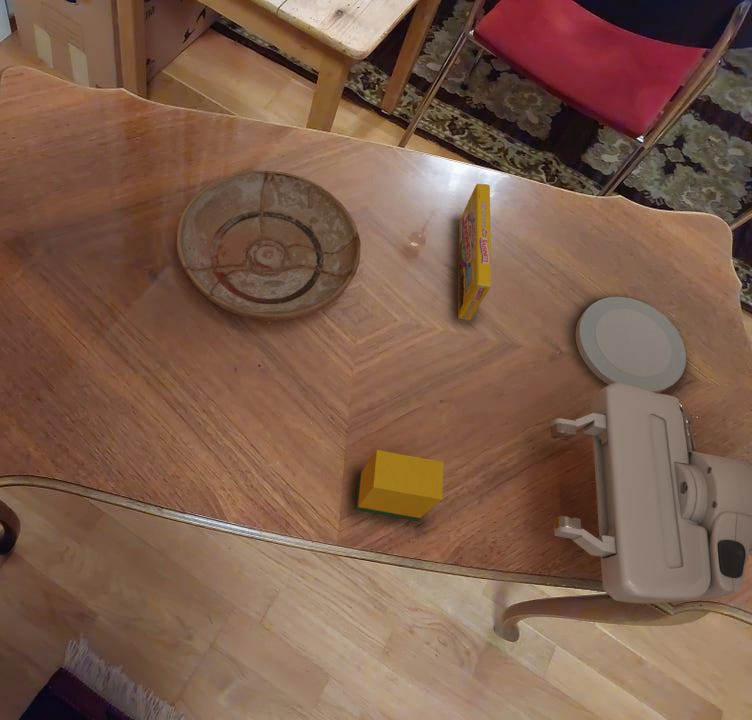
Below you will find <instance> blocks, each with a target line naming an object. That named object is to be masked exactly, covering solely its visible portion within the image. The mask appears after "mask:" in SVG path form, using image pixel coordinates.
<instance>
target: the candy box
mask: <svg viewBox="0 0 752 720" xmlns="http://www.w3.org/2000/svg"><path fill="white" fill-rule="evenodd" d="M458 227H459V228H458V280H457V281H458V283H457V284H458V286H457V287H458V289H457V290H458V291H457V293H458V298H457V301H458V303H457V307H458V309H457V319H460V320H464V321H471V320H472V318H473V316H474V315H475V313H476V311H478V308H479V307H480V305H481V303H482V302H483V300H484V299H485V297H486V295H487V294H488V292H489V291H490V289H491V287H492V244H491V243H492V241H491V238H492V237H491V230H492V229H491V187H490V184H486V183H476V184H475V186H474V189H473V190H472V192H471V195H470V197H469V198H468V201H467V203H466V205H465V207H464V210H463V212H462V215H461V217H460V219H459V221H458Z"/></svg>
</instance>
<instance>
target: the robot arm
mask: <svg viewBox="0 0 752 720" xmlns="http://www.w3.org/2000/svg"><path fill="white" fill-rule="evenodd" d="M549 423H550V438H552V439H554V440H558V439H559V440H560V441H566V442H569V440H571V439H572V438H574V437H576V436H577V431H578V430H581V429H582V433H583V434H585V435H589V436H592V445H593V446H592V447H593V461H594V477H595V490H596V491H595V492H596V504H597V506H596V507H597V521H598V522H597V523H598V535H599V536H597V537H596V536H595V535H593V534H592V533H590V532H589V531H587V530H586V529H584V528H583V527H582V519H581V518H578V517H572V518H571V517H570V516H565V515H559V516H557V517H555V518H554V519H553V535H554V536H555V537H559V538H565V539H569V540H572V542H574V543H575V544H576V545H577V546H578V547H580V548H581V549H583V550H584V552H586V553H587V554H588V555H590V556H596V557H600V563H601V564H600V568H601V582H602V583H601V584H602V589H603V591H604V592H605V593H606V594H607V595H608V596H609V597H610V598H612V600H614V601H616V602H621V603H628V604H629V603H630V604H637V605H639V604H640V605H641V604H643V605H661V604H668V603H669V604H670V603H677V602H680V601H686V600H687V601H710V600H716V599H721V598H725V597H728V596H732V595H734V594H737V593H740V592H741V591H742V589H743V587H744V582H745V577H746V571H747V565H748V558H749V556H752V462H750V461H749V460H748V461H747V460H743V459H738V458H733V457H729V456H721V455H716V454H711V453H704V452H700V451H697V448H696V442H695V441H696V440H695V436H694V434H693V429H692V424H693V419H692V416H691V413H690V411H688V410H686V408H685V406H684V405H683V404H682V402H681V401H680V400H679V398H677V397H675V396H674V395H670V394H665V393H660V392H659V393H654V392H651V391H648V390H645V389H641V388H638V387H634V386H631V385H626V384H622V383H612V384H610V385H608V384H607V385H606V386H604V387H603V388H601V389H599V391H597V392H596V393H595V394H594V395H593V396H591V399H590V414H586V415H584V416H582V417H579V418H576V419H574V420H572V419H569V418H567V419H566V418H562V417H560V418H559V417H558V418H554V420H552V421H551V422H549Z"/></svg>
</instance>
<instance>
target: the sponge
mask: <svg viewBox="0 0 752 720" xmlns="http://www.w3.org/2000/svg"><path fill="white" fill-rule="evenodd" d="M444 466H445V463H444V461H442V460H436V459H430V458H424V457H418V456H413V455H408V454H402V453H396V452H391V451H386V450H380V449H376V450H375V452H374V453H373V455H372V456H371V458H370V459H369V461H368V463H366V465H365V467H364V468H363V470H362V471H360V473H359V474H358V482H357V492H356V500H355V501H356V502H355V511H359V512H360V511H361V512H365V513H371V514H376V515H383V516H388V517H394V518H399V519H404V520H409V521H416V522H419V521H420V520H421V519H422V517H423V516H425V515H426V514H427V513H428V512H429V511H430V510H432V509H433V508H434V507H436V506H437V505H438V504H439V503H440V502H441V501H442V500H443V497H444V496H443V492H444V491H443V490H444V470H445V469H444V468H445V467H444Z"/></svg>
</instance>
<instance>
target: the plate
mask: <svg viewBox="0 0 752 720" xmlns="http://www.w3.org/2000/svg"><path fill="white" fill-rule="evenodd" d="M575 326H576V327H575V335H574V337H575V343H576V347H577V350H578V353H579V355H580V357H581V359H582V361H583V362H584V364H585V365H586V366H587V368H588V369H589V370H590V371H591V372H592V373H593V375H595V376H596V377H597V378H598V379H599V380H600V381H602V382H603V383H605V384H607V386H608V385H610V384H612V383H622V384H626V385H631V386H634V387H638V388H641V389H645V390H648V391H651V392H654V393H659V394H660V393H661V392H664V391H666V390H667V389H669V388H670V387H672V386H673V385H675V384H676V383H677V382H678V381H679V379H680V378H681V377H682V376H683V373H684V372H685V368H686V365H687V364H686V363H687V352H686V347H685V344H684V341H683V338H682V337H681V334H680V333H679V331H678V329H677V328H676V327H675V325H674V324H673V323H672V321H670V320H669V318H668V317H667V316H666V315H664V314H663V313H662V312H661V311H659V310H658V309H657V308H655V307H654V306H651V305H650V304H648V303H645V302H644V301H641V300H638V299H636V298H631V297H627V296H609V297H605V298H601V299H599V300H597V301H595V302H593V303H592V304H590V305H589V306H588V307H587V308H586V309H584V311H583V312H582V314H581V315H580V316H579V318H578V320H577V322H576V325H575Z"/></svg>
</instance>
